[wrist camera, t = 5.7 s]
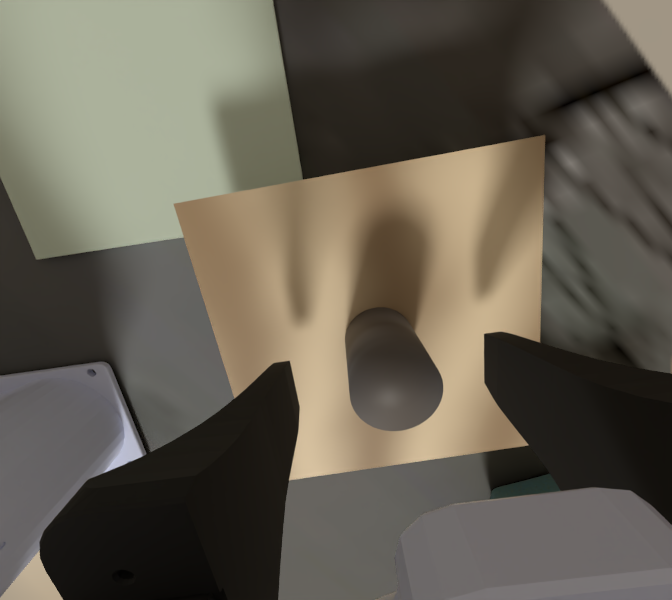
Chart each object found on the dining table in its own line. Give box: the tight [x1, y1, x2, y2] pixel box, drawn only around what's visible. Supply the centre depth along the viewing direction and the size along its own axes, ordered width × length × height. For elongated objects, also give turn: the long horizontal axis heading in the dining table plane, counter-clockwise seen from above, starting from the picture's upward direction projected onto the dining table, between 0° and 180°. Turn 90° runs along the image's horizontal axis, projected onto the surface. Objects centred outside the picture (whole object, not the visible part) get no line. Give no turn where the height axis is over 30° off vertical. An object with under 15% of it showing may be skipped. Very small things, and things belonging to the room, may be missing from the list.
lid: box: [174, 135, 545, 480], centre depth 13 cm, size 14×14×5 cm
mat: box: [0, 0, 303, 260], centre depth 15 cm, size 15×15×1 cm
